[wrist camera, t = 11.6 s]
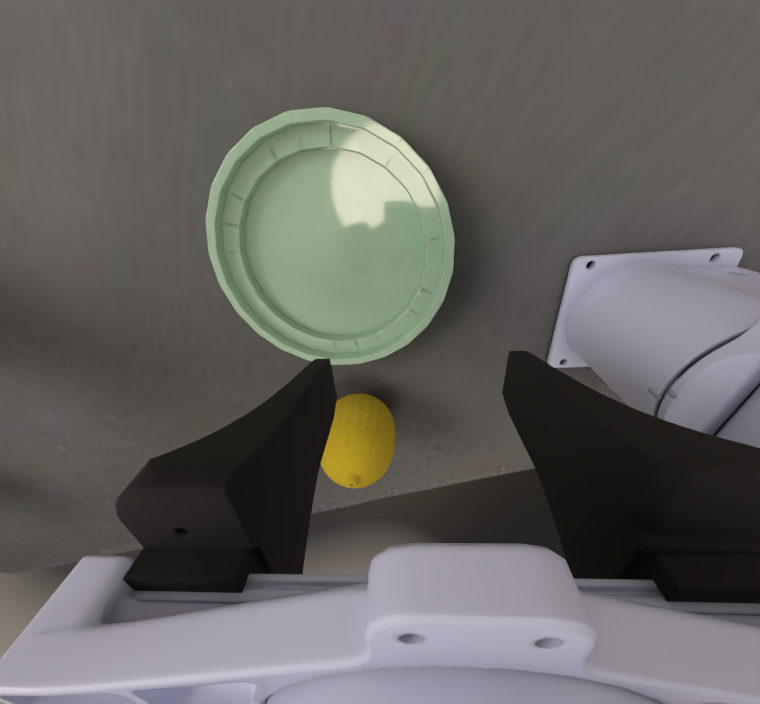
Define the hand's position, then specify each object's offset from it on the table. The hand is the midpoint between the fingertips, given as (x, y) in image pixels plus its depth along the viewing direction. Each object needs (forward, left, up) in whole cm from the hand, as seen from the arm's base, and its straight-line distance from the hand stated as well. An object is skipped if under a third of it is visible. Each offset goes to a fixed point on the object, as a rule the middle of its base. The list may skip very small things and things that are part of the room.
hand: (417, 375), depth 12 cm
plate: (+4, -3, -9) cm, 11 cm away
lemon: (+4, +9, -10) cm, 14 cm away
